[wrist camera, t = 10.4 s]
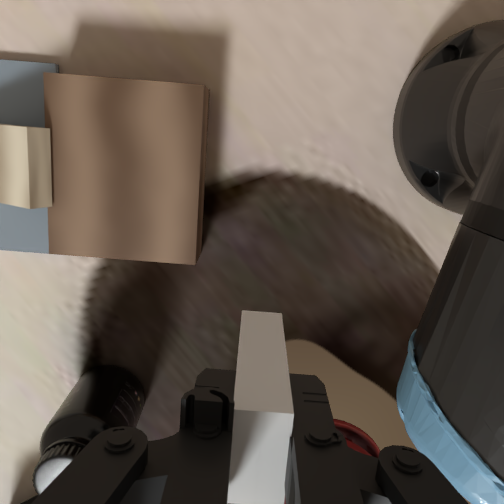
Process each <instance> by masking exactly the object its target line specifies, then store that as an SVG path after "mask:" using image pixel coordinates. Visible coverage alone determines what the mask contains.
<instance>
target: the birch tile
mask: <svg viewBox="0 0 504 504" xmlns="http://www.w3.org/2000/svg"><path fill="white" fill-rule="evenodd" d="M0 203H3V204H8V205H13V206H17V207H22V208H27V209H36V208H44V207H52V181H51V145H50V128H40V127H30V126H19V125H9V124H0Z"/></svg>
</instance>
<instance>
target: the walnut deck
mask: <svg viewBox="0 0 504 504" xmlns="http://www.w3.org/2000/svg"><path fill="white" fill-rule="evenodd" d="M43 81H44V113H45V128H50V145H51V181H52V207H47V208H48V239H49V254H60V255H73V256H86V257H99V258H111V259H124V260H137V261H150V262H163V263H176V264H189V265H196V263H197V260H198V258H199V256H200V254H201V246H202V227H203V207H204V187H205V168H206V148H207V129H208V109H209V89H208V88H207V87H206V86H205V85H200V84H187V83H174V82H162V81H149V80H137V79H124V78H111V77H99V76H86V75H73V74H61V73H48V72H43Z"/></svg>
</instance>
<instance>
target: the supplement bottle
mask: <svg viewBox="0 0 504 504" xmlns="http://www.w3.org/2000/svg"><path fill="white" fill-rule="evenodd" d="M143 406H144V391H143V388H142V386H141V384H140V382H139V381H138V379H137V378H136V377H135V376H134V375H133V374H132V373H130V372H129V371H127V370H125V369H123V368H121V367H117V366H111V365H105V366H99V367H95V368H93V369H91V370H89V371H87V372H86V373H85V374H84V375H83V376H82V377H81V378H80V379H79V380H78V382H77V383H76V385H75V386H74V387H73V389H72V390H71V392H70V393H69V395H68V396H67V398H66V399H65V400H64V402H63V403H62V405H61V406H60V408H59V409H58V411H57V412H56V413H55V415H54V416H53V418H52V419H51V421H50V422H49V424H48V425H47V427H46V428H45V430H44V432H43V434H42V437H41V440H40V455H41V458H40V461H39V462H38V464H37V466H36V467H35V470H34V473H33V480H32V481H33V483H34V484H33V486H34V487H35V491H36V492H37V493H38V495H40V494H41V493H42V492H43V491H44V489H45V488H46V487H47V486H48V485H49V484H50V483H51V482H52V481H53V480H54V479H55V478H56V477H57V476H58V475H59V474H60V473H61V472H62V471H63V470H64V469H65V467H66V466H67V465H68V464H69V463H70V462H71V461H72V460H73V459H74V458H75V457H76V456H77V455H78V454H79V453H80V452H81V451H82V450H83V449H84V448H85V447H86V445H87V444H88V443H89V442H90V441H91V440H92V439H93V438H94V437H95V436H97V435H98V434H99V433H101V432H102V431H105V430H107V429H110V428H113V427H121V426H126V427H134V428H136V426H137V423H138V420H139V418H140V415H141V412H142V410H143Z"/></svg>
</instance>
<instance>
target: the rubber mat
mask: <svg viewBox="0 0 504 504" xmlns="http://www.w3.org/2000/svg"><path fill="white" fill-rule="evenodd" d="M43 72H48V73H59V66H58V65H57V64H51V63H38V62H26V61H13V60H1V59H0V124H9V125H19V126H30V127H40V128H45V113H44V81H43ZM0 250H8V251H21V252H34V253H47V254H49V239H48V208H47V207H44V208H36V209H27V208H22V207H17V206H13V205H8V204H3V203H0ZM59 255H60V254H59Z"/></svg>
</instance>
